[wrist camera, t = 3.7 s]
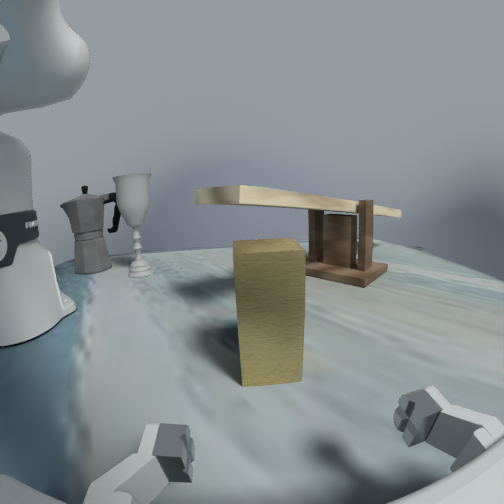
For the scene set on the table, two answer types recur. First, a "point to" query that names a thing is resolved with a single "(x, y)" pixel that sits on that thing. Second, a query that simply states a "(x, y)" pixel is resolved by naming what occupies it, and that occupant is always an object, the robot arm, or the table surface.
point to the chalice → (134, 213)
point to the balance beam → (281, 200)
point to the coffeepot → (90, 230)
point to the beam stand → (343, 247)
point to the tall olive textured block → (270, 309)
